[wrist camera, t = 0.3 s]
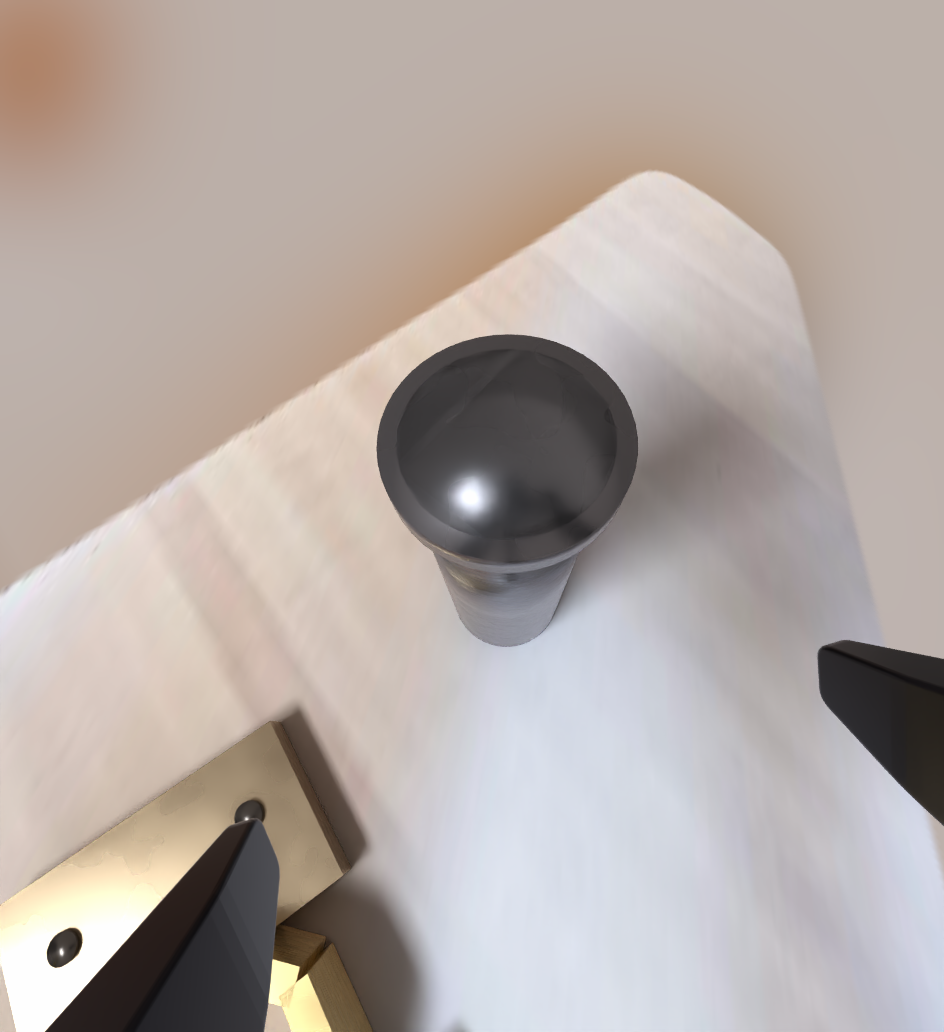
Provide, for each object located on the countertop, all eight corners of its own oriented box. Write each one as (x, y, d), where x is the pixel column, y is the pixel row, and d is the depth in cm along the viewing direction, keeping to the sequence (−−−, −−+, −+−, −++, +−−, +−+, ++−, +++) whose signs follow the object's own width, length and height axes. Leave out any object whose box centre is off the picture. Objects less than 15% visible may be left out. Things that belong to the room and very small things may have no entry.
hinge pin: (591, 609, 22) (695, 461, 10) (490, 682, 21) (471, 616, 9) (518, 517, 24) (531, 298, 12) (423, 580, 23) (331, 413, 11)
